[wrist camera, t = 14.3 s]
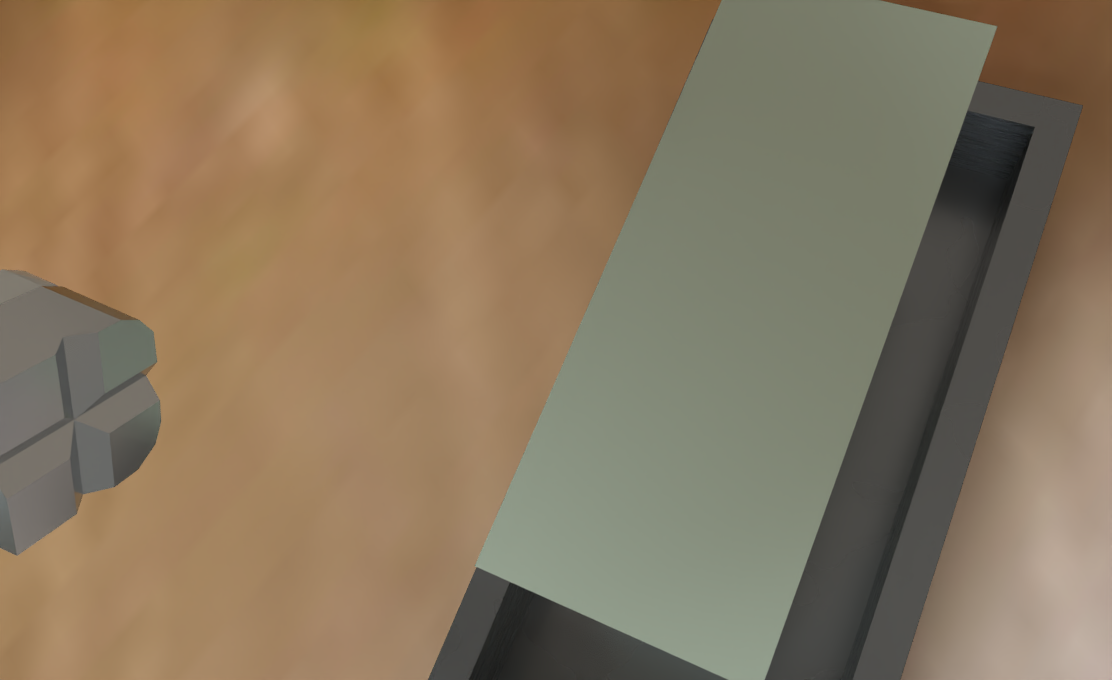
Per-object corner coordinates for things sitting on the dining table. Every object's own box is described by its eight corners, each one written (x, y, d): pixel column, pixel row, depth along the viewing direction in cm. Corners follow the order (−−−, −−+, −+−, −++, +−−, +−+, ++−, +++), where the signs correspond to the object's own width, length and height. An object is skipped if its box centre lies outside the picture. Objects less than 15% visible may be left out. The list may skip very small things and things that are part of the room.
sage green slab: (591, 608, 22) (474, 565, 13) (742, 233, 25) (735, -32, 15) (757, 682, 21) (759, 693, 12) (900, 281, 23) (997, 26, 14)
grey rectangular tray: (456, 713, 23) (410, 720, 20) (717, 93, 27) (712, 18, 24) (811, 888, 20) (821, 928, 17) (1041, 176, 24) (1083, 105, 21)
